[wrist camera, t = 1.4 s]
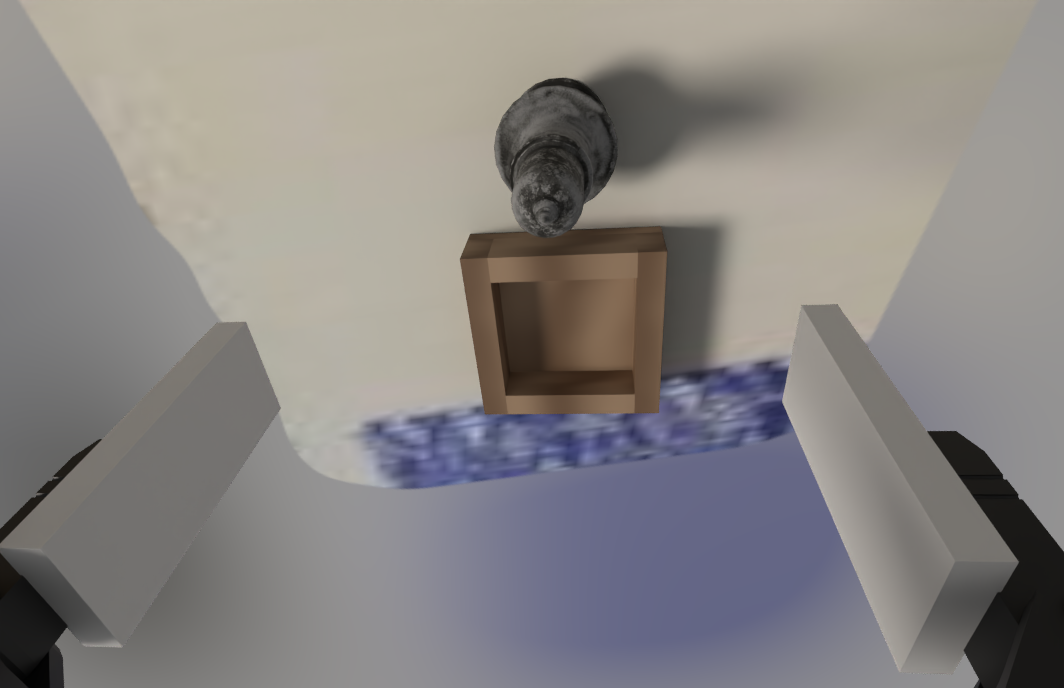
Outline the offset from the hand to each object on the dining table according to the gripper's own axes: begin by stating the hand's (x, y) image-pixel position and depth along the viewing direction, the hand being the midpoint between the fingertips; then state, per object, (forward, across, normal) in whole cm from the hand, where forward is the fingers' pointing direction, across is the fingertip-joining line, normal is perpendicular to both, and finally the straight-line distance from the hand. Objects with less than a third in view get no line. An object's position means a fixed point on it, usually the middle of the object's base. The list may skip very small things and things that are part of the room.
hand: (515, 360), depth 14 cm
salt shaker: (+21, 0, 0) cm, 21 cm away
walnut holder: (+20, 0, -11) cm, 23 cm away
